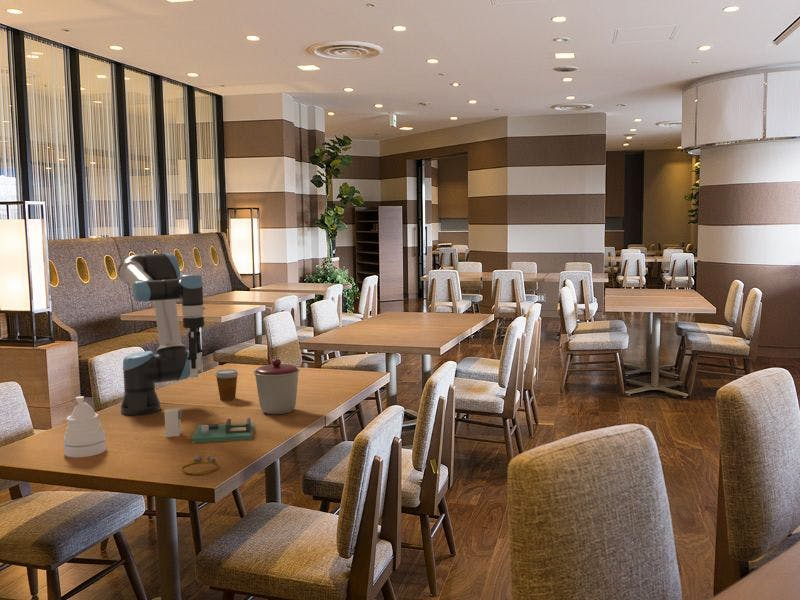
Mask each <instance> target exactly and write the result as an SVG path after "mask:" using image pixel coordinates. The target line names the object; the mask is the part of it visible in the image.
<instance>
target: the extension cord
mask: <svg viewBox="0 0 800 600" xmlns="http://www.w3.org/2000/svg"><path fill="white" fill-rule="evenodd" d="M201 459H202V455H201V454H198V453H197V455H195V456H194V458H193V462H191V463H188V464H185V465H183V466H181V472H182V473H183V474H185V475H190V474H192V475H191V476H198V475H197V474H202V475H206V474H205V473H207V474H209V473H208V472H210V473H212V471H213V472H215V471H217V470H216V469H218V468H219V467H220V468H221V465H220V464H219V463H218V462H216V461H217V458H216V456H215V455H214V454H209V455H207V460H208V461H209V460H210V461H209V462H208V461H206V462H205V461H201ZM199 460H200V461H199ZM211 461H212V462H211ZM210 462H211V463H214V464H213V465H215V464H217V465H216V467H214V468H211V469H208V470H205V471H197V472H196V471H195V472H189V471H185V470H184V469H185V468H186V467H185V466H187V467H188V466H191V465H196V463H197V464H209V463H210ZM184 467H185V468H184ZM214 470H215V471H214ZM218 470H219V469H218Z"/></svg>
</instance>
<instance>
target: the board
mask: <svg viewBox="0 0 800 600" xmlns="http://www.w3.org/2000/svg"><path fill="white" fill-rule="evenodd" d="M231 421H232V420H231V418H227V419H226V423H224V424H219V423H207V424H202V425H198V426H197V428H196V429H195V430H194V431H195V432H194V433H193V434H192V437H191V443H192V442H197V443H210V441H215V442H229V441H228V440H234V441H246V440H247V439H251V440H252V439H253V435H252V434H253V433H254V430H255V422H252V421H251V417H247V418H246V422H244V423H231ZM245 439H246V440H245Z"/></svg>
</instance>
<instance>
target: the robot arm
mask: <svg viewBox="0 0 800 600" xmlns="http://www.w3.org/2000/svg"><path fill="white" fill-rule="evenodd" d="M180 271H181V268H180V264H179V261H178V259H177V257H176V256H175V255H174V254H173V253H165V252H162V253H143V254H142V253H141V254H140V253H138V254H133V255H130V256H128V257H126V258H125V259H123V260H122V261H121V262H120V264H119V266H118V267H117V275H118V277H119V278H120V280H121V281H122V282H123V283H125V284H127V285H129V286H131V288H132V296H133V299H134V302H143V303H145V302H154V303H153V304H154V312H155V319H156V327H157V334H158V341H159V342H158V343H159V346H158V347H157V349H156V354H155V353H154V352H153V350H152V351H151V350H145V351H143V350H142V351H138V352H137V351H136V352H133V353H131V354H128V355H126V356H124V358H123V360H122V370H123V371H122V372H123V387H124V391H123V393H124V394H123V398H122V400H121V401H122V402H121V405H120V413H121V414H122V415H127V416H139V415H148V414H153V413H156V412H158V411H160V410H161V408H162V407H161V402H160V398H159V397H158V395H157V391H156V384H158V383H165V382H166V383H167V382H174V381H181V380H187V379H188V378H189V377H190V379H191V378H193V379H194V378H199V371H202V370H203V368H202V365H203V363H202V353H204V350H203V349H202V346H201V345H202V343H201V331H200V328H204V327H205V317H204V316H203V315H204V314H205V312H204V310H206V307H204V289H203V285H204V283H203V277H202V275H201V274H196V273H195V274H193V273H191V274H190V273H189V274H183V275H181V272H180ZM176 300H181V313H182V317H183V318H182V326H183V328H184V329H189V331H188V333H187V336H188V349H187V348H186V345H185V344H183V343H182V338H181V331H180V324H179V316H178V308H177V301H176Z"/></svg>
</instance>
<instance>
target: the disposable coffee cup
mask: <svg viewBox="0 0 800 600" xmlns="http://www.w3.org/2000/svg"><path fill="white" fill-rule="evenodd" d="M238 375H239V373H238V370H237V369H233V368H231V369H230V368H229V369H228V368H227V369H220V370H217V371H216V372H215V374H214V376H215V378H216V382H217V388H218V394H219V400H220V401H222V402H223V401H226V402H227V401H233V400H236V395H237V394H236V393H237V384H238V383H237V382H238Z"/></svg>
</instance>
